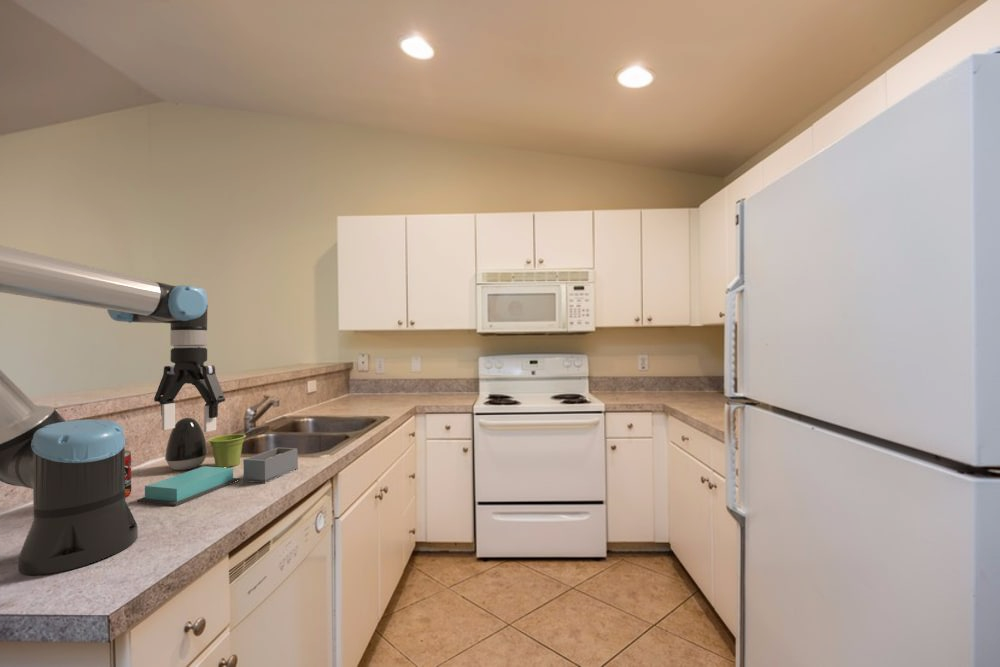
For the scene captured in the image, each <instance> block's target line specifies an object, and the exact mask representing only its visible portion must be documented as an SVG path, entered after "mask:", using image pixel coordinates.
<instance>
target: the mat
mask: <svg viewBox="0 0 1000 667" xmlns="http://www.w3.org/2000/svg"><path fill="white" fill-rule="evenodd" d="M237 480H239V481H240V478H239V477H233V480H230V481H228V482H225V483H223V484H220V485H218V486H215V487H213V488H210V489H208V490H205V491H203V492H200V493H197V494H195V495H192V496H190V497H187V498H185V499H182V500H180V501H177V502H176V501H166V500H156V499H146V498H145V496H144V497H141V498H138V499H136V501H137V503H139V502H141V503H142V504H149V503H150V504H149V505H159V504H161V506H168V507H169V506H170V507H177V506H180V505H182V504H185V503H188V502H190V501H193V500H194V499H198V498H201V497H202V496H206V495H207V494H210V493H213V492H215V491H217V490H220V489H222V488H224V487H223V486H225V485H227V486H229V485H228V484H230V483H232V484H234V483H233V482H235V481H237ZM237 482H238V481H237ZM235 483H236V482H235ZM230 485H231V484H230ZM221 487H222V488H221ZM225 487H226V486H225ZM219 488H220V489H219ZM214 490H215V491H214Z"/></svg>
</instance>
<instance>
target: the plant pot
mask: <svg viewBox="0 0 1000 667" xmlns="http://www.w3.org/2000/svg"><path fill="white" fill-rule="evenodd" d="M246 437H247V436H246V434H242V433H238V434H237V433H233V434H225V435H219V436H213V437H211V438H209V439H208V442H209V443H210V446H211V447H212V453H213V454H212V455H213V457H214V464H215V467H221V468H224V467H228V468H231V467H236V466H239V465H240V463H241V462H240V461H241V456H242V450H243V444H244V441H245V438H246ZM235 465H236V466H235Z"/></svg>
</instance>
